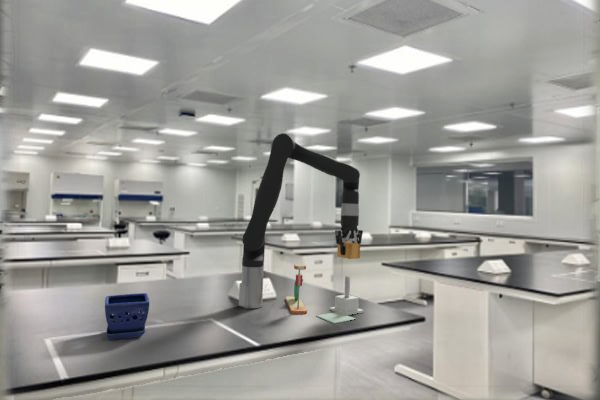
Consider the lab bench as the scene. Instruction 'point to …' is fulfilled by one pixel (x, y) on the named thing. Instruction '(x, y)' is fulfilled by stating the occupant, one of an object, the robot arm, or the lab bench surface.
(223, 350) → the lab bench surface
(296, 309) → the crank mechanism
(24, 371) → the lab bench surface
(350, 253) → the cardboard box
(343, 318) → the mat
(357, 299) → the stand
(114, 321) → the flower pot
